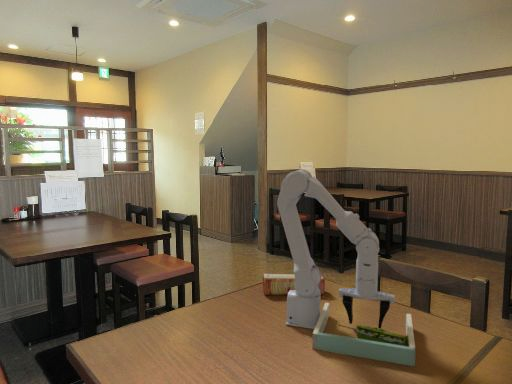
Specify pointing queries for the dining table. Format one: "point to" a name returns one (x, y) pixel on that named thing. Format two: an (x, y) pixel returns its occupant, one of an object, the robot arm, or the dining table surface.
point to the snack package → (283, 284)
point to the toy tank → (380, 335)
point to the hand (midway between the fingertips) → (365, 324)
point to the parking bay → (364, 344)
